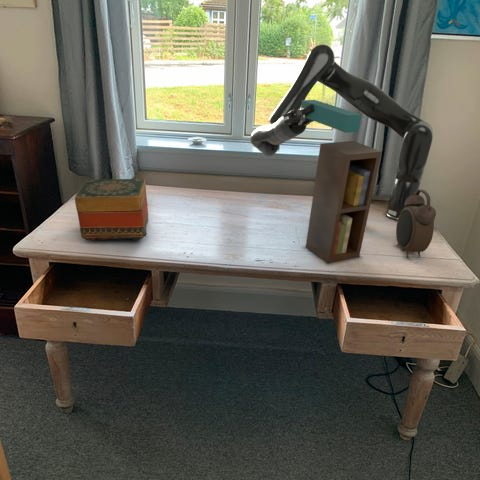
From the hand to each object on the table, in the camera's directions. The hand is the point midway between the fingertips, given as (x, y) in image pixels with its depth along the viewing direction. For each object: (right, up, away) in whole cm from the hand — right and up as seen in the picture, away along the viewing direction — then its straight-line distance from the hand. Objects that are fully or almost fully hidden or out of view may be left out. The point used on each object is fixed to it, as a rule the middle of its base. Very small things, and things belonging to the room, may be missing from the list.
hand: (320, 107), depth 140 cm
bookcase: (+5, -41, +10) cm, 43 cm away
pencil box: (+2, -5, -1) cm, 6 cm away
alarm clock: (+30, -41, +13) cm, 52 cm away
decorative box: (-63, -35, +13) cm, 73 cm away
